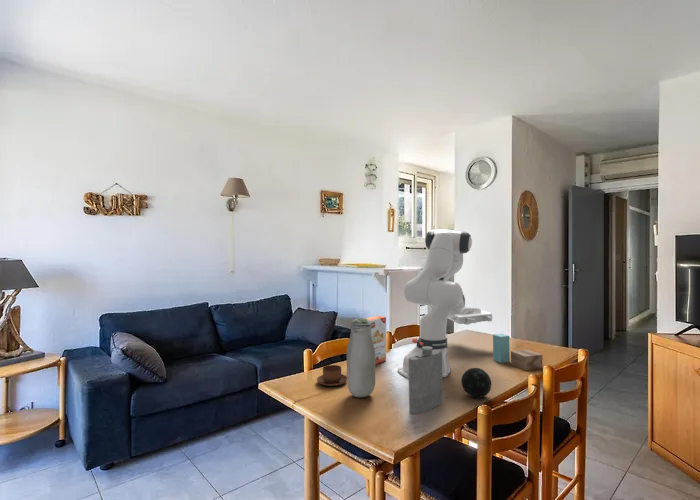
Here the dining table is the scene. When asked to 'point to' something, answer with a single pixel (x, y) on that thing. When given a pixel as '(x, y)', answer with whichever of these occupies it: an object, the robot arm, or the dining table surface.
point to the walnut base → (526, 359)
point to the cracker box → (379, 337)
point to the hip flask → (425, 380)
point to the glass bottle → (361, 359)
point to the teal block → (501, 348)
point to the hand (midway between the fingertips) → (482, 320)
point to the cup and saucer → (332, 376)
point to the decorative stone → (476, 382)
